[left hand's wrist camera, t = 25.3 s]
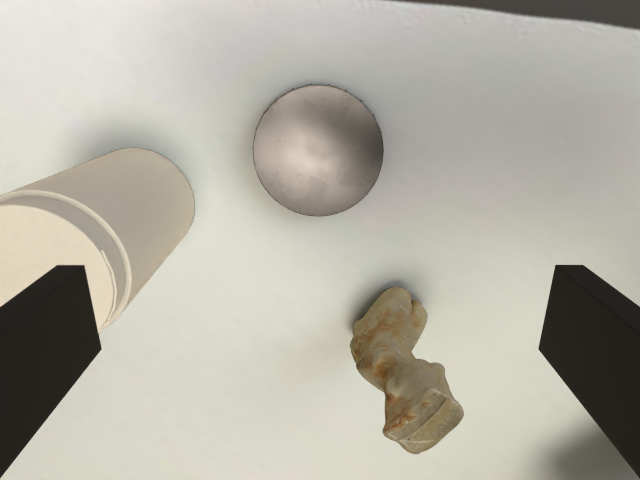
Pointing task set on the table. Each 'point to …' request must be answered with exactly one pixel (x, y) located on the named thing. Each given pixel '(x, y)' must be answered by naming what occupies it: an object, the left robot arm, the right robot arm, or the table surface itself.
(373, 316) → the sculpture
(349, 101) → the lid
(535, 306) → the table surface
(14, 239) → the jar
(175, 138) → the table surface
